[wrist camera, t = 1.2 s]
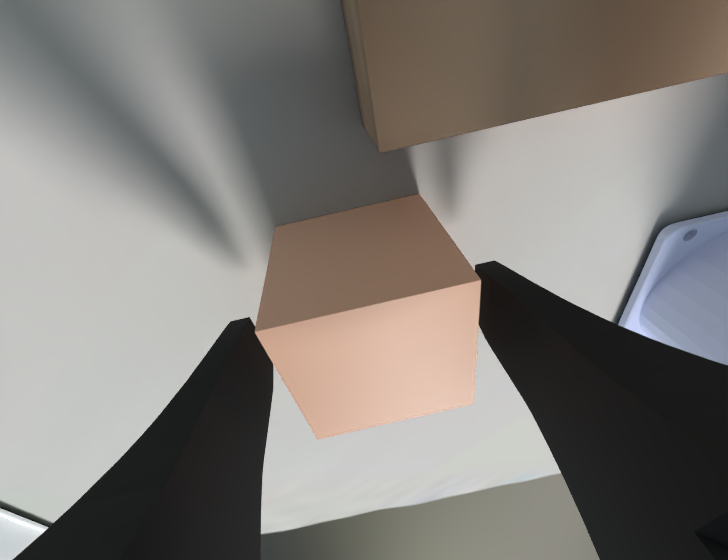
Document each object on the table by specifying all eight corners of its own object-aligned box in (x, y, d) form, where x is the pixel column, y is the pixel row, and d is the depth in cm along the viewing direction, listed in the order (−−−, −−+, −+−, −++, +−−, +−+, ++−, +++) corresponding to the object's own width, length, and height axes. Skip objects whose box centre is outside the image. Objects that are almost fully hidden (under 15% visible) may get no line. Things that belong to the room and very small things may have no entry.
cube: (418, 192, 11) (481, 280, 7) (427, 300, 14) (473, 403, 10) (275, 225, 11) (254, 332, 7) (315, 325, 14) (317, 439, 10)
